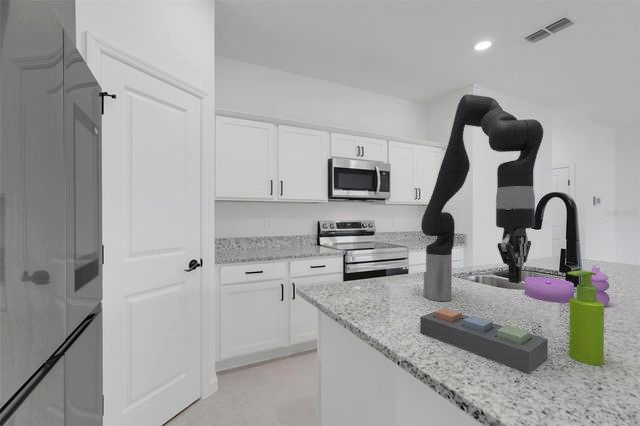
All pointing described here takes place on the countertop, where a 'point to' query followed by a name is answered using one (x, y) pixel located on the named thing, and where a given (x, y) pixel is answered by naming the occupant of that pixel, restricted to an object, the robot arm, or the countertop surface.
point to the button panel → (487, 343)
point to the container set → (564, 288)
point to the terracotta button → (448, 315)
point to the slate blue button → (478, 324)
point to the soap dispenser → (586, 322)
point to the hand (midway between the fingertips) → (514, 282)
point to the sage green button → (513, 335)
